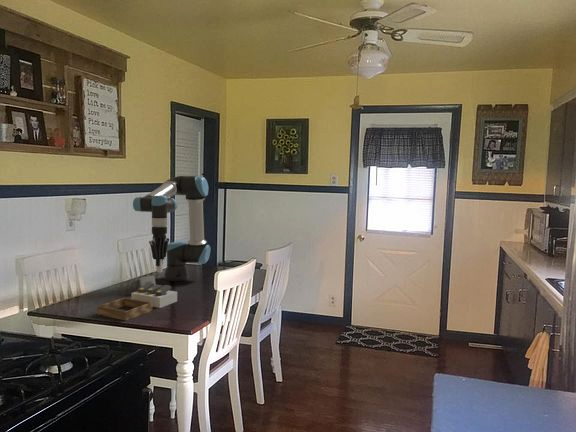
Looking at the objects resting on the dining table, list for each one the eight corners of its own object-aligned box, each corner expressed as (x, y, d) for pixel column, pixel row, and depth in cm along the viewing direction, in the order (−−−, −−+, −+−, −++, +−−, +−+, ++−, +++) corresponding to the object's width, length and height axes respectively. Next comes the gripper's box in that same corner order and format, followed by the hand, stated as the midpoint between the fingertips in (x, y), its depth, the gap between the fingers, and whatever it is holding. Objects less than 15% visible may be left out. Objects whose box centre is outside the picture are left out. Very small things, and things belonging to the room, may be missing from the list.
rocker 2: (156, 287, 252) (156, 284, 252) (162, 288, 251) (162, 285, 250) (146, 292, 245) (146, 289, 245) (152, 293, 243) (152, 290, 243)
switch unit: (149, 296, 258) (149, 285, 258) (177, 301, 251) (177, 289, 251) (131, 303, 246) (131, 291, 245) (159, 307, 238) (159, 296, 238)
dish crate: (124, 305, 241) (124, 297, 240) (152, 310, 234) (152, 302, 233) (97, 314, 225) (97, 306, 224) (126, 320, 218) (126, 311, 217)
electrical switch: (142, 295, 261) (141, 278, 261) (137, 294, 265) (136, 277, 264) (157, 292, 269) (156, 275, 268) (151, 291, 272) (150, 275, 272)
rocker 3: (165, 287, 250) (164, 284, 249) (171, 288, 248) (170, 285, 248) (155, 294, 243) (154, 291, 243) (161, 295, 241) (161, 292, 241)
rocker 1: (148, 284, 254) (147, 282, 254) (154, 285, 253) (153, 283, 252) (138, 291, 247) (137, 289, 247) (144, 292, 246) (143, 289, 245)
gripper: (162, 224, 251) (162, 268, 254) (144, 226, 239) (144, 273, 242) (173, 225, 248) (173, 270, 250) (156, 227, 236) (156, 275, 239)
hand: (159, 271), depth 246 cm, fingers closed
